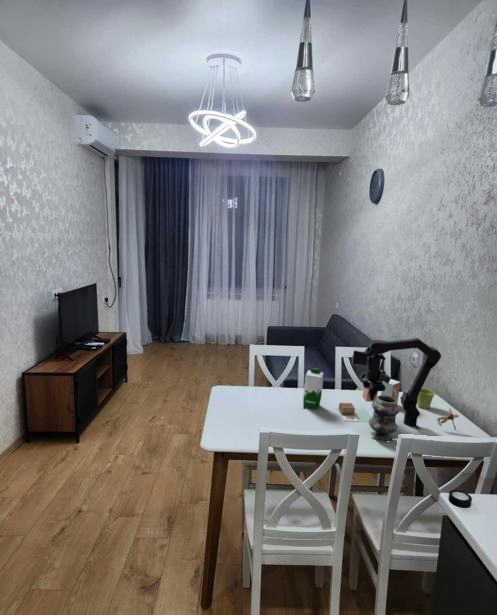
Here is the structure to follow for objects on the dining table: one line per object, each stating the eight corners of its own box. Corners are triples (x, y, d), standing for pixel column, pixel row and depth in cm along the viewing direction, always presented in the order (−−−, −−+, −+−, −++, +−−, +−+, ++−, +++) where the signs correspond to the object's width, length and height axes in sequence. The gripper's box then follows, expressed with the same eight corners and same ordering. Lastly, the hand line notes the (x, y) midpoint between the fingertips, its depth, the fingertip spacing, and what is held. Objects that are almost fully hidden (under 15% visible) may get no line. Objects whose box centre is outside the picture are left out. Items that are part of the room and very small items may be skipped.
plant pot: (429, 404, 229) (431, 389, 228) (435, 411, 220) (437, 395, 219) (412, 402, 230) (414, 387, 229) (417, 409, 221) (419, 393, 219)
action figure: (440, 433, 200) (458, 426, 200) (443, 436, 197) (462, 429, 198) (434, 411, 198) (452, 404, 198) (438, 413, 195) (456, 406, 195)
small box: (390, 408, 219) (393, 384, 217) (379, 404, 224) (382, 381, 222) (397, 405, 225) (400, 381, 223) (386, 401, 229) (389, 378, 227)
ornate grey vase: (395, 446, 178) (400, 406, 175) (366, 439, 182) (371, 400, 179) (396, 434, 189) (401, 396, 186) (368, 428, 193) (373, 391, 190)
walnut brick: (354, 415, 205) (354, 407, 204) (342, 415, 204) (342, 407, 203) (350, 410, 210) (351, 403, 210) (338, 410, 210) (339, 402, 209)
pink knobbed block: (376, 401, 199) (377, 390, 198) (366, 401, 199) (367, 390, 198) (372, 397, 204) (374, 386, 203) (362, 397, 204) (364, 386, 203)
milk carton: (321, 405, 216) (324, 368, 213) (318, 412, 207) (322, 373, 204) (304, 402, 218) (307, 365, 215) (301, 409, 210) (304, 370, 207)
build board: (377, 424, 198) (377, 421, 198) (344, 422, 197) (344, 420, 197) (365, 410, 214) (365, 408, 214) (334, 409, 213) (335, 406, 213)
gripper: (398, 374, 190) (393, 406, 193) (382, 362, 209) (378, 391, 211) (374, 373, 189) (370, 405, 192) (360, 360, 208) (357, 390, 210)
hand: (369, 398), depth 201 cm, fingers closed on pink knobbed block, 5 cm apart
